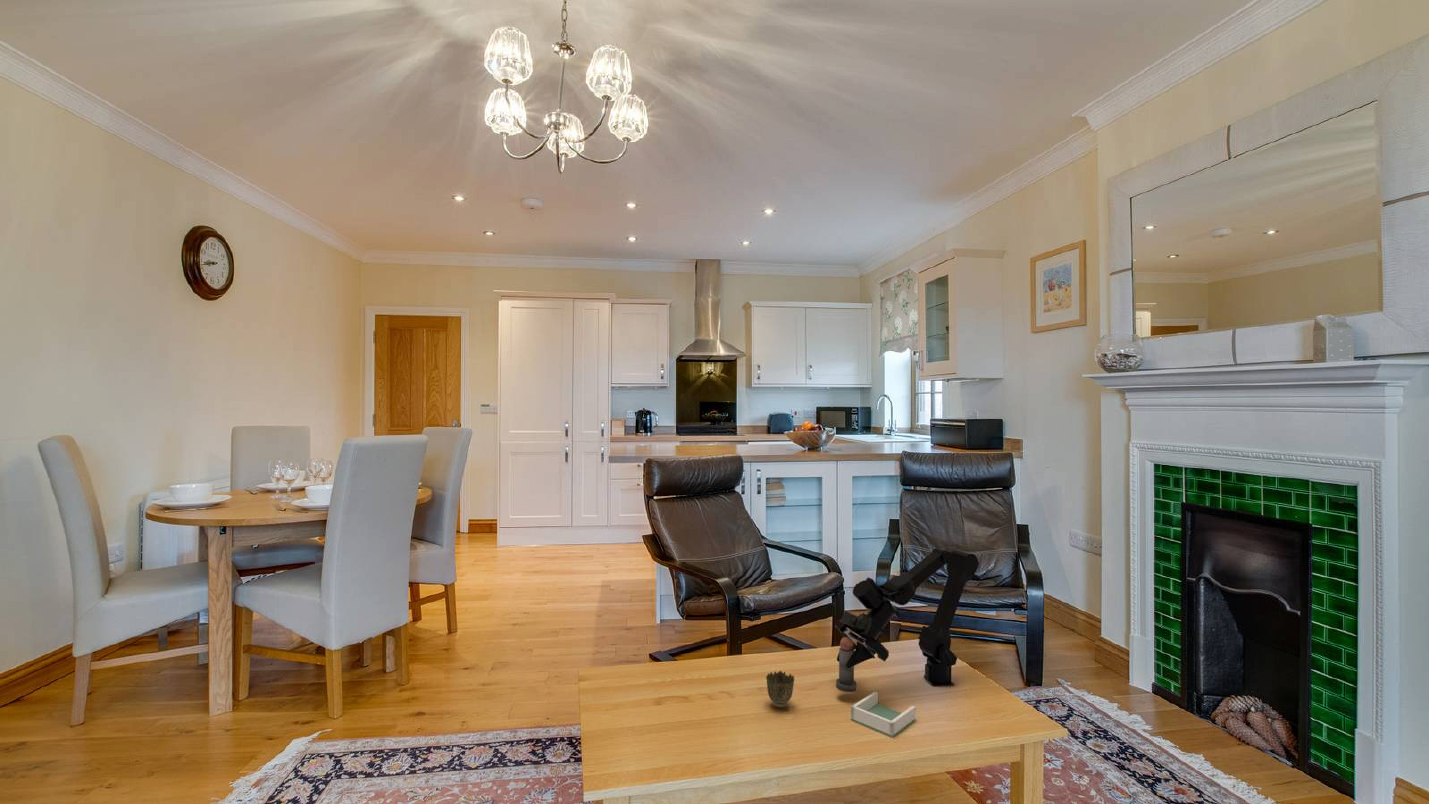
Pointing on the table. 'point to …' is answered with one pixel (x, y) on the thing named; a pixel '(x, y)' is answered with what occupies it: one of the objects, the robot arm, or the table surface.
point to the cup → (780, 688)
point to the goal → (881, 716)
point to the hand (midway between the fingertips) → (842, 664)
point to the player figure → (846, 674)
